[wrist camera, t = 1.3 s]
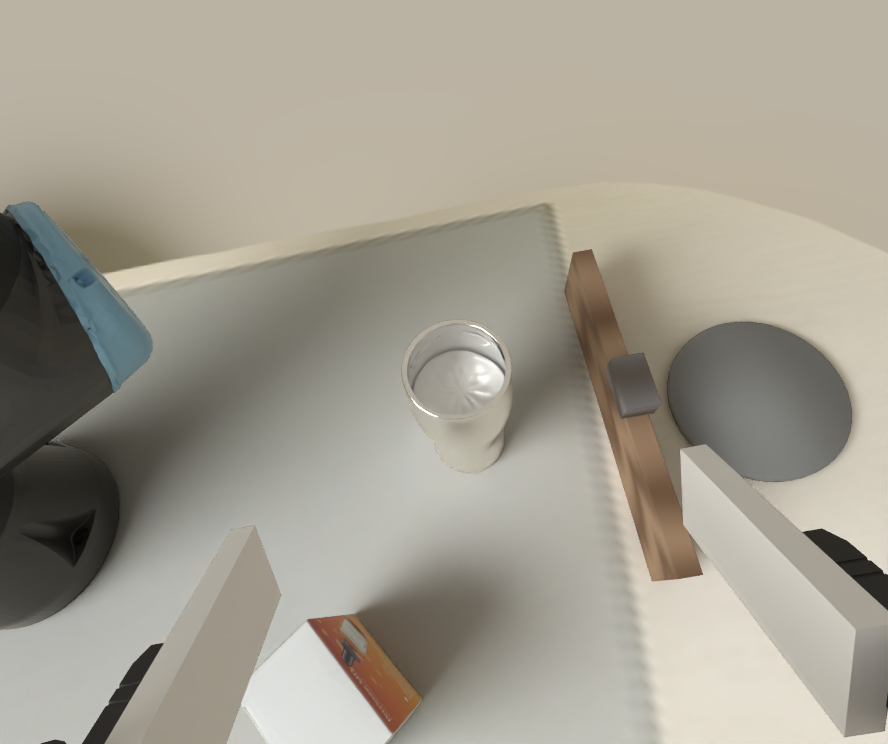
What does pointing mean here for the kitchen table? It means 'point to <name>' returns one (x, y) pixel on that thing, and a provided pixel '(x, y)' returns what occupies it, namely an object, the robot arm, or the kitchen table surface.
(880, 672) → the robot arm
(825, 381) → the round pad
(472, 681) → the kitchen table surface
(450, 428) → the beer glass
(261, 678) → the small box
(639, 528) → the board
